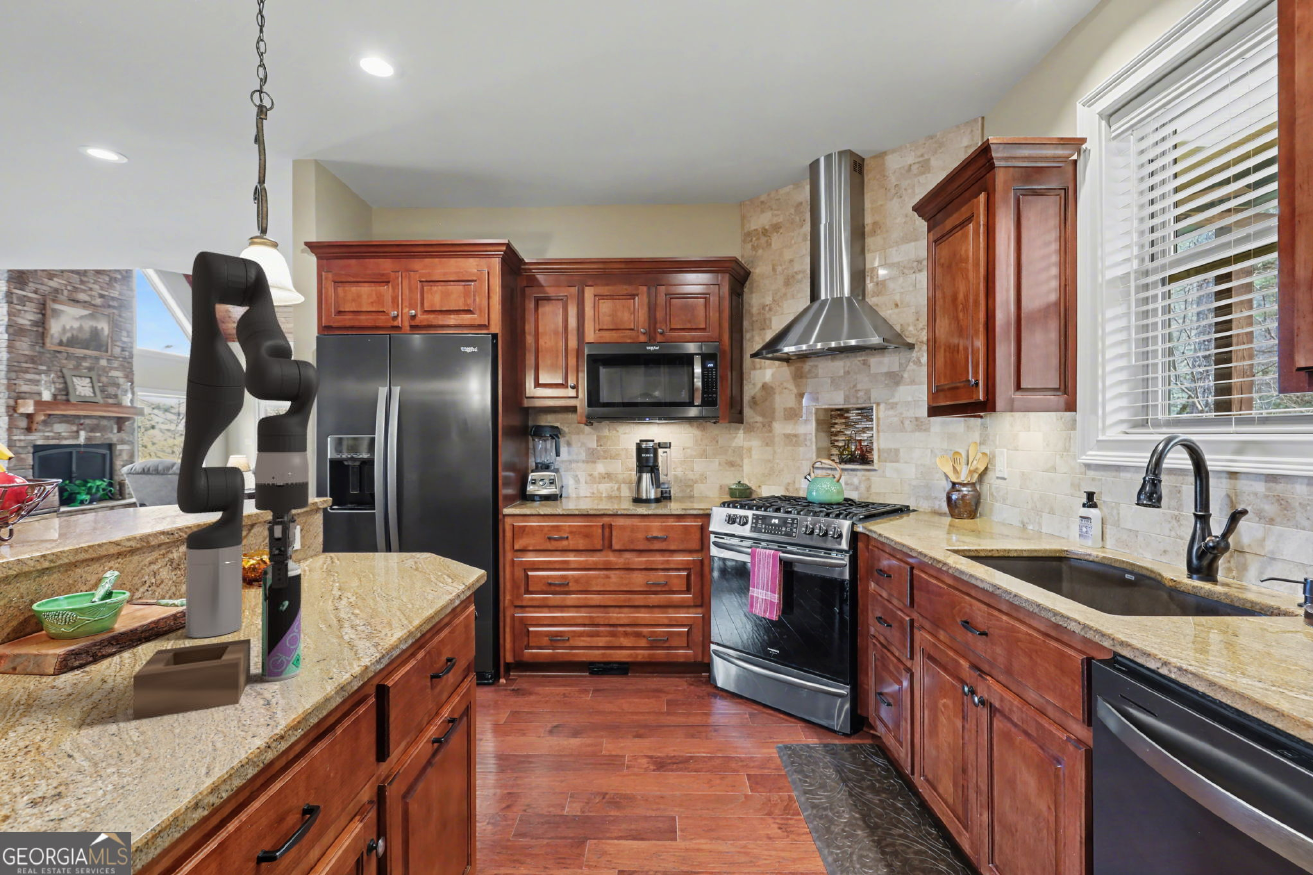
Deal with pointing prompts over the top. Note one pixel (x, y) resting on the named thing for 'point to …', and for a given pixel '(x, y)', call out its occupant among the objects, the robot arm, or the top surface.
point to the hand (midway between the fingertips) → (281, 582)
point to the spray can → (281, 625)
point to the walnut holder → (191, 678)
